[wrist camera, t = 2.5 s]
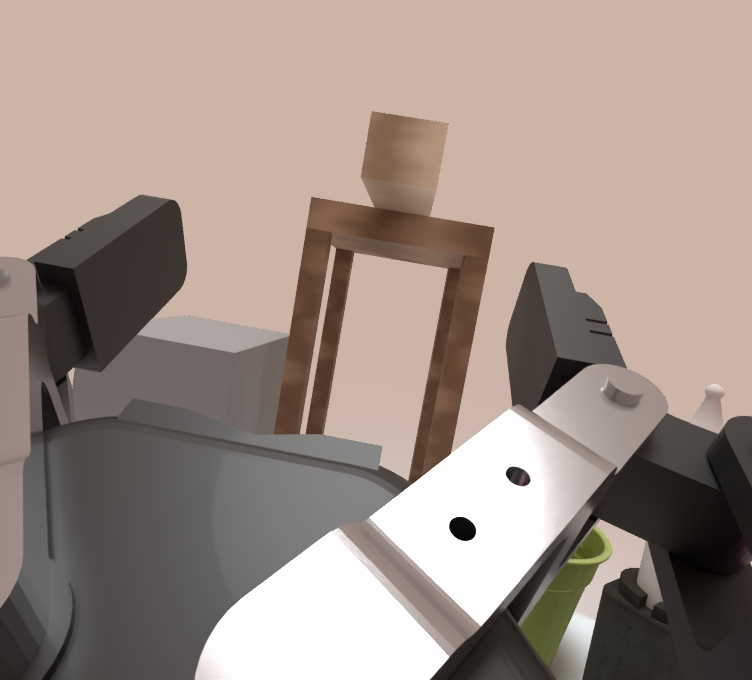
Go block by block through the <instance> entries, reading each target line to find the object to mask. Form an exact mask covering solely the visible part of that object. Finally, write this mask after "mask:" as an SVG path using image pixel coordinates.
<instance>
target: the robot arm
mask: <svg viewBox="0 0 752 680" xmlns="http://www.w3.org/2000/svg"><path fill="white" fill-rule="evenodd" d="M186 273H187V261H186V252H185V244H184V234H183V226H182V217H181V211H180V208H179V205H178V203H177V202H176V201H174V200H169V199H164V198H158V197H152V196H146V195H139V196H137V197H135V198H134V199H132V200H130V201H129V202H127V203H126V204H124V205H123V206H121V207H119V208H118V209H116V210H115V211H113V212H111V213H110V214H107V215H104V216H100V217H97V218H94V219H92V220H91V221H89V222H87V223H86V224H84V225H82V226H81V227H79V228H78V231H76V230H74V231H73V232H71V233H69V234H68V235H67V236H65V239H60V240H58V241H56V242H55V243H53V244H52V245H50V246H48V247H47V248H45V249H43V250H42V251H40V252H39V253H37V254H35V255H34V256H33V257H31V258H29V259H27V260H23V259H19V258H13V257H0V680H556V679H555V677H554V676H553V674H552V673H551V671H550V670H549V668H548V667H547V665H546V664H545V663H544V661H543V660H542V658H541V657H540V655H539V654H538V652H537V651H536V649H535V648H534V647H533V645H532V644H531V642H530V641H529V639H528V638H527V636H526V635H525V633H524V632H523V631H522V629H521V628H520V626H521V625H522V623H523V622H524V621H525V619H526V618H527V617H528V615H529V614H530V612H531V611H532V609H533V608H534V607H535V605H536V604H537V602H538V601H539V599H540V598H541V596H542V595H543V593H544V592H545V591H546V589H547V588H548V586H549V585H550V584H551V582H552V581H553V580H554V578H555V577H556V576H557V575H558V573H559V572H560V571H561V569H562V568H563V567H564V566H565V564H566V563H567V562H568V560H569V559H570V558H571V557H572V555H573V554H574V553H575V551H576V550H577V549H578V548H579V546H580V545H581V544H582V542H583V541H584V540H585V539H586V537H587V536H588V535H589V533H590V532H591V531H592V530H593V528H594V527H595V526H596V524H597V523H598V522H599V520H600V519H601V520H604V521H606V522H608V523H610V524H612V525H614V526H616V527H618V528H621V529H623V530H625V531H627V532H629V533H631V534H634V535H635V536H638V537H640V538H642V539H644V540H646V541H648V546H649V550H650V554H651V558H652V562H653V565H654V569H655V573H656V577H657V581H658V585H659V588H660V592H661V596H662V600H663V604H664V607H665V611H666V615H667V619H668V623H669V627H670V630H671V634H672V638H673V642H674V646H675V650H676V653H677V657H678V661H679V665H680V669H681V672H682V676H683V680H752V567H751V564H750V562H751V561H752V417H751V416H738V417H734V418H731V419H730V420H728V421H727V423H726V424H725V426H724V427H723V428H722V430H721V431H720V432H719V434H717V433H715V432H712V431H709V430H707V429H704V428H702V427H699V426H696V425H694V424H691V423H689V422H686V421H683V420H681V419H678V418H676V417H674V416H672V415H670V414H668V413H667V411H668V403H667V400H666V398H665V396H664V395H663V393H662V392H661V391H660V390H659V389H658V387H656V386H655V385H654V384H653V383H652V382H650V381H649V380H648V379H646V378H645V377H643V376H641V375H639V374H637V373H635V372H633V371H631V370H628V369H627V367H626V365H625V362H624V360H623V358H622V356H621V353H620V351H619V348H618V346H617V344H616V341H615V339H614V337H612V332H611V329H610V327H609V325H607V320H606V318H605V315H604V313H603V310H602V308H601V307H600V306H599V305H598V304H597V303H596V302H595V301H594V300H593V299H592V298H590V297H589V296H588V295H587V294H586V293H580V292H576V291H575V289H574V286H573V283H572V280H571V278H570V275H569V272H568V269H567V268H564V267H558V266H553V265H547V264H540V263H535V262H532V263H531V264H530V265H529V267H528V269H527V272H526V274H525V278H524V281H523V284H522V287H521V290H520V293H519V296H518V299H517V302H516V305H515V309H514V311H513V314H512V317H511V320H510V324H509V328H508V333H507V339H506V352H507V361H508V370H509V379H510V388H511V397H512V406H513V407H512V408H510V409H509V410H508V411H507V412H505V413H504V414H503V415H501V416H500V417H499V418H497V419H496V420H495V421H494V422H492V423H491V424H490V425H489V426H487V427H486V428H485V429H483V430H482V431H481V432H479V434H477V435H476V436H474V437H473V438H472V439H470V440H469V441H468V442H467V443H465V444H464V445H463V446H462V447H460V448H459V449H458V450H456V451H455V452H454V453H453V454H451V455H450V456H449V457H447V458H446V459H445V460H444V461H442V462H441V463H440V464H438V465H437V466H436V467H435V468H433V469H432V470H431V471H429V472H428V473H427V474H426V475H424V476H423V477H422V478H420V479H419V480H418V481H417V482H415V483H414V484H411V483H410V482H408V481H407V480H405V479H404V478H402V477H401V476H399V475H397V474H395V473H394V472H392V471H390V470H388V469H386V468H383V467H381V466H379V462H380V457H381V451H382V446H378V445H373V444H367V443H362V442H357V441H352V440H347V439H341V438H336V437H331V436H326V435H321V434H285V435H256V434H248V433H245V432H243V431H240V430H238V429H236V428H233V427H231V426H229V425H227V424H224V423H222V422H220V421H217V420H215V419H213V418H210V417H208V416H206V415H203V414H201V413H199V412H197V411H194V410H191V409H186V408H180V407H175V406H170V405H165V404H160V403H154V402H149V401H144V400H139V399H134V398H133V399H132V400H131V401H130V402H129V404H128V405H127V406H126V407H125V409H124V410H123V411H122V412H121V414H120V415H119V416H110V417H99V418H92V419H86V420H80V421H76V420H75V411H74V402H73V393H72V386H71V382H70V379H69V376H68V372H69V371H70V370H71V369H72V368H73V367H74V368H79V369H84V370H90V371H95V372H100V373H101V372H102V371H103V370H104V369H105V368H106V367H107V366H108V364H109V363H110V362H111V361H112V360H113V359H114V358H115V357H116V356H117V355H118V354H119V353H120V352H121V351H122V350H123V349H124V348H125V347H126V346H127V345H128V343H129V342H130V341H131V340H132V339H133V338H134V337H135V336H136V335H137V334H138V333H139V332H140V331H141V330H142V329H143V328H144V327H145V326H146V325H147V324H148V322H149V321H150V320H151V319H152V318H153V317H154V316H155V315H156V314H157V313H158V312H159V311H160V310H161V309H162V308H163V307H164V306H165V305H166V304H167V302H168V301H169V300H170V299H171V298H172V297H173V296H174V295H175V294H176V293H177V292H178V291H179V290H180V289H181V287H182V285H183V283H184V281H185V277H186Z"/></svg>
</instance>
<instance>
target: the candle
mask: <svg viewBox="0 0 752 680" xmlns="http://www.w3.org/2000/svg"><path fill="white" fill-rule="evenodd" d="M705 393H706V398H705V399H704V401H703V403H702V404H701V406H700V407H699V408H698V410H697V411H696V413H695V415H694V416H693V418H692V419H691V421H690V422H689V423H691V424H694V425H696V426H699V427H702V428H704V429H707V430H709V431H712V432H715V433H717V434H719V432H720V431H721V430H722V428H723V419H722V411H721V402H720V399H721V398H722V397H723V395H724V390H723V388H722V387H721V386H720V385H717V384H712V385H710V386H708V387H707V388H706V389H705ZM582 680H683V676H682V672H681V669H680V665H679V661H678V657H677V653H676V650H675V646H674V642H673V638H672V634H671V630H670V627H669V623H668V619H667V615H666V611H665V607H664V604H663V600H662V596H661V592H660V588H659V585H658V581H657V577H656V573H655V569H654V565H653V562H652V558H651V554H650V550H649V546H648V541H646V543H645V548H644V552H643V556H642V561H641V565H640V568H629V569H625V570H623V571H622V572H621V575H620V578H619V579H617V580H614V581H612V582H609V583H607V584H605V585H604V587H603V591H602V596H601V600H600V604H599V609H598V613H597V617H596V622H595V626H594V631H593V635H592V639H591V644H590V648H589V652H588V657H587V661H586V665H585V670H584V674H583V679H582Z"/></svg>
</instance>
